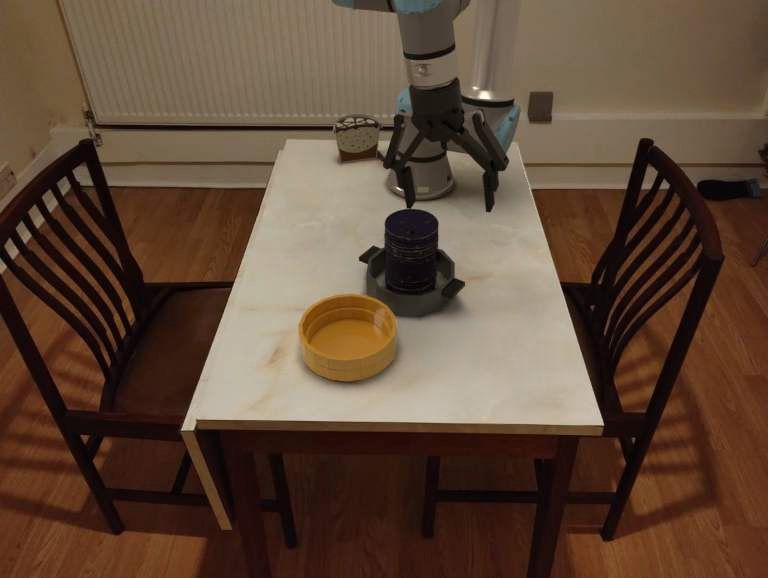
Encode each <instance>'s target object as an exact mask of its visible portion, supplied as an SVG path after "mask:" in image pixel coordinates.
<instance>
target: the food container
mask: <svg viewBox="0 0 768 578" xmlns="http://www.w3.org/2000/svg"><path fill="white" fill-rule="evenodd" d="M381 129H383V126H382V122H381V120H380V119H379V118H378V117H376V116H374V115H371V114H367V113H350V114H345V115H343V116H341V117H339V118H337V119H336V120H335V122H334V124H333V127H332V131H333V132H332V135H334V134H335V139H336V144H337V150H338V156H339V162H340V164H345V163H346V164H347V163H352V162H359V161H360V162H361V161H368V160H374V159H378V156H377V153H378V151H379V142H380V141H379V140H380V130H381ZM334 130H335V133H334Z"/></svg>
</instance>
